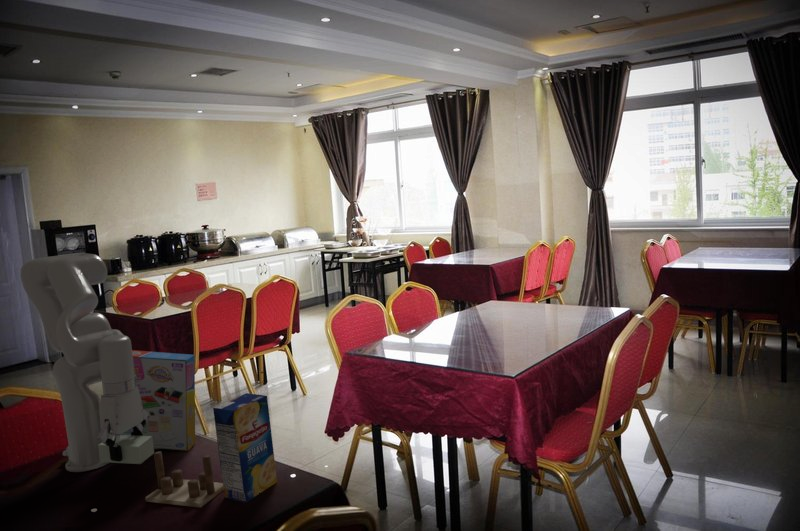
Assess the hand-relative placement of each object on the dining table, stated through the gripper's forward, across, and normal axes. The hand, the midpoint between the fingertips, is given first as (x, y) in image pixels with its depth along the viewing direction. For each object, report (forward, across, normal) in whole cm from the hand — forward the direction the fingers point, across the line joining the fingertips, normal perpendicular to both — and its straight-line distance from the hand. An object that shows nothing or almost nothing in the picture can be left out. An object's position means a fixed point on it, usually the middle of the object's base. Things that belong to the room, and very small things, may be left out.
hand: (127, 453), depth 156 cm
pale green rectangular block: (+1, 0, 0) cm, 1 cm away
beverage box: (+8, -4, +33) cm, 34 cm away
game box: (+9, -21, -10) cm, 25 cm away
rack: (+8, +1, +18) cm, 19 cm away
